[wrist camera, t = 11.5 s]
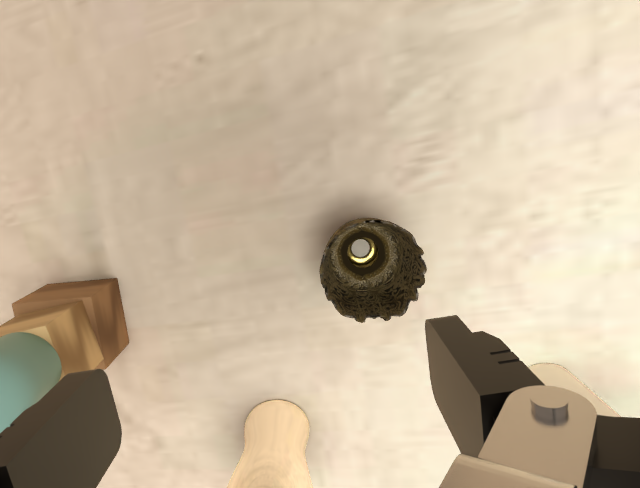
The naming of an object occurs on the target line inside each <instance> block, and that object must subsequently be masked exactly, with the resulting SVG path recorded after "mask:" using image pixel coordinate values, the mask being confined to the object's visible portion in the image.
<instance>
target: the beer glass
mask: <svg viewBox="0 0 640 488" xmlns="http://www.w3.org/2000/svg"><path fill="white" fill-rule="evenodd" d="M308 437H309V422H308V419H307V417H306V415H305V414H304V412H303V411H302V410H301V409H300V408H299V407H298V406H296V405H295V404H293V403H291V402H288V401H284V400H270V401H266V402H263V403H261V404H259V405H258V406H256V407H255V408H254V409H253V410H252V411H251V412H250V413H249V415H248V417H247V419H246V421H245V426H244V439H245V447H244V451H243V454H242V456H241V458H240V460H239V462H238V464H237V466H236V468H235V470H234V472H233V474H232V476H231V478H230V481H229V483H228V486H227V488H313V486H312V482H311V477H310V473H309V470H308V466H307V462H306V457H305V448H306V445H307V441H308Z"/></svg>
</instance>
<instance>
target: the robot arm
mask: <svg viewBox="0 0 640 488" xmlns="http://www.w3.org/2000/svg"><path fill="white" fill-rule="evenodd" d="M425 332H426V342H427V351H428V360H429V370H430V379H431V385H432V390H433V394H434V397H435V400H436V403H437V405H438V407H439V409H440V411H441V413H442V415H443V417H444V419H445V422H446V424H447V426H448V428H449V430H450V432H451V434H452V436H453V438H454V440H455V442H456V444H457V446H458V448H459V450H460V452H461V454H459V455H458V456H457V457H456V459H455V460H454V462H453V463H452V465H451V467H450V469H449V471H448V472H447V474H446V476H445V478H444V480H443V481H442V483H441V485H440V487H439V488H640V418H628V417H611V416H603V415H597V412H596V409H595V407H594V406H593V404H592V403H591V402H590V401H589V400H587V399H586V398H585V397H583V396H581V395H580V394H578V393H575V392H573V391H571V390H567V389H564V388H560V387H554V386H546V385H545V384H544V383H543V382H542V381H541V380H540V379H539V378H538V377H537V376H536V375H535V374H534V373H533V372H532V371H531V370H530V369H529V368H528V367H527V366H526V365H525V364H524V363H523V362H522V361H520V360H519V358H518V357H517V356H516V355H515V354H514V353H513V352H511V351H510V349H509V348H508V347H507V346H506V345H505V344H504V343H503V342H502V341H501V340H500V339H499V338H497V337H494V336H492V335H490V334H488V333H485V332H483V331H480V332H474V333H472V332H471V331H470V330H469V329H468V328H467V326H466V325H465V324H464V323H463V322H462V321H461V320H460V318H459V317H458V316H457V315H454V316H447V317H441V318H434V319H427V320H426V322H425ZM121 437H122V431H121V424H120V420H119V417H118V413H117V409H116V406H115V402H114V398H113V395H112V391H111V388H110V384H109V380H108V377H107V375H106V373H105V372H104V371H103V370H102V369H94V370H87V371H80V372H74V373H68V374H67V375H65V376H64V377H63V378H62V379H61V380H60V381H59V382H58V383H57V384H56V385H55V386H54V387H53V388H52V389H51V390H50V391H49V392H48V393H47V394H46V395H45V396H44V397H42V398H41V399H40V400H39V401H38V402H37V403H35V404H34V405H32V406H31V407H29V408H27V409H26V410H24V411H23V412H22V413H21V414H20V415H19V416H18V417H17V418H16V419H15V420H14V421H13V422H12V423H11V424H10V427H7V428H6V429H4V430H3V431H2V432H1V433H0V488H96V487H97V485H98V484H99V482H100V481H101V479H102V477H103V476H104V474H105V472H106V471H107V469H108V467H109V466H110V464H111V462H112V461H113V459H114V458H115V456H116V454H117V453H118V451H119V448H120V444H121Z"/></svg>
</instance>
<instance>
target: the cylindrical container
mask: <svg viewBox="0 0 640 488" xmlns="http://www.w3.org/2000/svg"><path fill="white" fill-rule="evenodd" d="M528 368H529V369H530V370H531V371H532V372H533V373H534V374H535V375H536V376H537V377H538V378H539V379H540V380H541V381H542V382H543V383H544V384H545V385H546V386H554V387H560V388H564V389H567V390H571V391H573V392H575V393H578V394H580V395H581V396H583V397H585V398H586V399H587V400H589V401H590V402H591V403H592V404H593V406H594V407H595V409H596V412H597V415H603V416H611V417H621V416H620V415H619V414H617V413H616V412H615V411H614V410H613V409H612V408H610V407H609V406H608V405H607V404H606V403H605V402H604V401H602V400H601V399H600V398H599V397H598V396H597V395H596V394H594V393H593V392H592V391H591V390H590V389H589V388H588V387H586V386H585V385H584V384H583V383H582V382H581V381H579V380H578V379H577V378H576V377H575V376H574V375H573V374H571V373H570V372H569V371H568V370H567V369H565V368H563V367H561V366H559V365H556V364H551V363H541V364H536V365H532V366H529V367H528Z"/></svg>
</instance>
